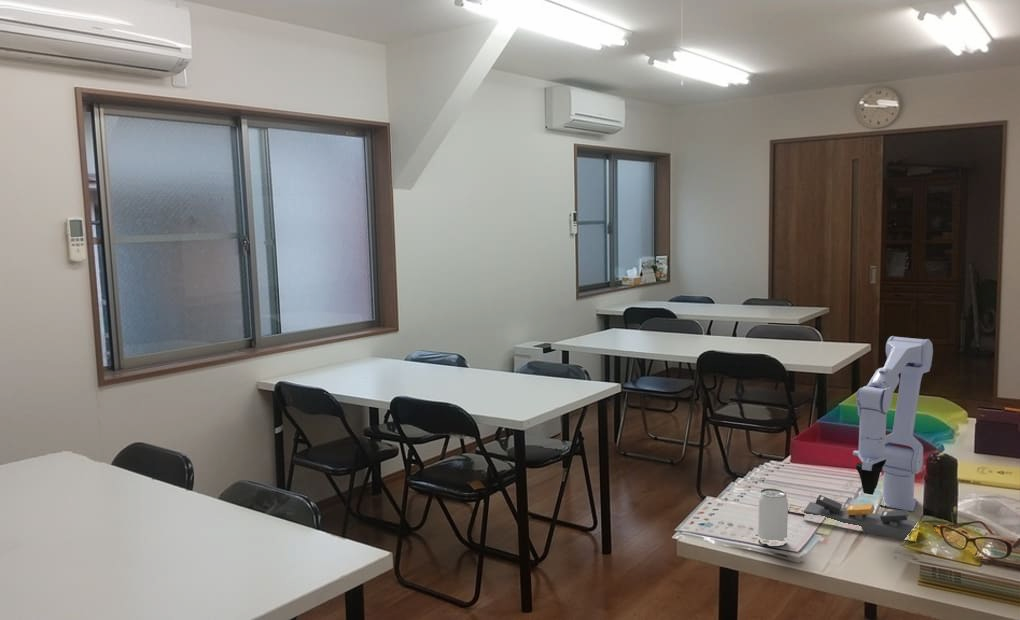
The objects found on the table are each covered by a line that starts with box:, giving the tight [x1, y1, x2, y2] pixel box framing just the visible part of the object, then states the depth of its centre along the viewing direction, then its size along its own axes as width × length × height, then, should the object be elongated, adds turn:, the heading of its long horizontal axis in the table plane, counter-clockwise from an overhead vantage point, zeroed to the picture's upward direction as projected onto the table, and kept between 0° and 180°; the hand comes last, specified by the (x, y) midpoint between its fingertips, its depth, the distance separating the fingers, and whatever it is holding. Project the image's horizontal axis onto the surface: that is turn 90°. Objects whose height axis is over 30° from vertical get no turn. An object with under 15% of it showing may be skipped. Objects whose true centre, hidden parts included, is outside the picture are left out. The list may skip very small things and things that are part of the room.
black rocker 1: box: [814, 494, 843, 513], centre depth 187 cm, size 4×6×2 cm, turn 56°
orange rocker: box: [846, 503, 875, 516], centre depth 183 cm, size 4×6×2 cm, turn 56°
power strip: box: [803, 501, 918, 541], centre depth 185 cm, size 7×30×4 cm, turn 56°
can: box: [757, 488, 789, 540], centre depth 175 cm, size 6×6×12 cm
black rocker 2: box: [880, 510, 909, 522], centre depth 179 cm, size 4×6×2 cm, turn 56°
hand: (869, 490), depth 181 cm, fingers open, 4 cm apart
